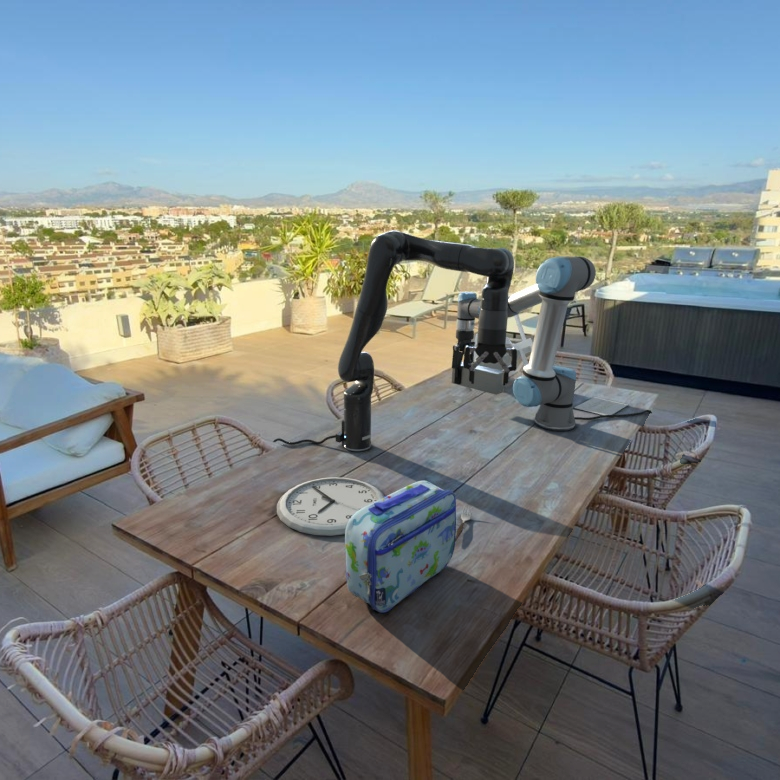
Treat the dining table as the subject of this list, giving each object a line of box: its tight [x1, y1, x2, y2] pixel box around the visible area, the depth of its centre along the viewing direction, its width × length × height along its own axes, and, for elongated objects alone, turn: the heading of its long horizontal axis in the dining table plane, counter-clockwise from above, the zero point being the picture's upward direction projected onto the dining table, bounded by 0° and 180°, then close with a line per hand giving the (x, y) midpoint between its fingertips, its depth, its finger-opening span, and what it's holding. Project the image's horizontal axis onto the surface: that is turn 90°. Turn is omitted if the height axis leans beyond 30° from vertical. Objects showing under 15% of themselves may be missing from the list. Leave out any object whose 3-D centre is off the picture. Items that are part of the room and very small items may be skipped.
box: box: [451, 361, 505, 395], centre depth 220 cm, size 22×6×9 cm, turn 48°
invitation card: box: [573, 396, 629, 416], centre depth 226 cm, size 21×1×15 cm
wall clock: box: [276, 476, 386, 537], centre depth 142 cm, size 30×2×30 cm
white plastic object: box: [473, 314, 534, 371], centre depth 259 cm, size 37×45×31 cm
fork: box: [455, 504, 474, 543], centre depth 133 cm, size 3×16×2 cm, turn 160°
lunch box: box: [344, 480, 457, 614], centre depth 109 cm, size 26×11×21 cm, turn 135°
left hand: (488, 384), depth 144 cm, fingers open, 8 cm apart
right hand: (461, 382), depth 226 cm, fingers closed on box, 6 cm apart
